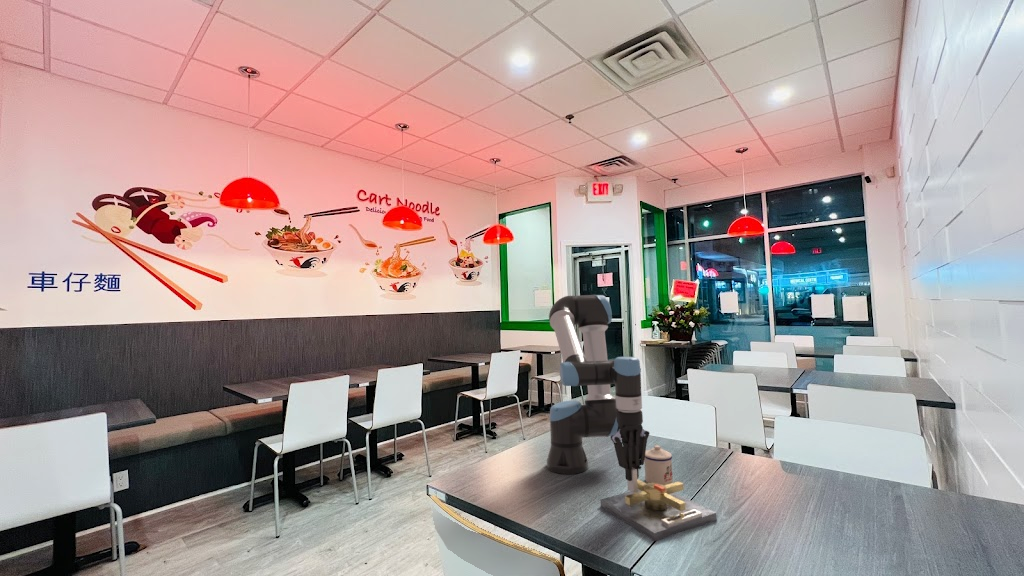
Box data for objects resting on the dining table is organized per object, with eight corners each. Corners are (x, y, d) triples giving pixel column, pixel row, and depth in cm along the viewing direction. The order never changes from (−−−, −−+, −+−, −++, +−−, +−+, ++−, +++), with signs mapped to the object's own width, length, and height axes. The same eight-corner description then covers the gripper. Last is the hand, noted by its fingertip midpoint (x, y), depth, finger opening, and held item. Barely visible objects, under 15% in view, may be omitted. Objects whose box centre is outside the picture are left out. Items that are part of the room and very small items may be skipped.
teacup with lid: (670, 489, 138) (668, 452, 138) (641, 484, 143) (640, 448, 143) (677, 476, 148) (675, 441, 149) (650, 471, 153) (648, 438, 153)
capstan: (605, 499, 127) (604, 479, 127) (656, 485, 136) (655, 466, 136) (654, 529, 109) (653, 506, 109) (710, 511, 118) (709, 489, 118)
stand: (600, 506, 127) (600, 493, 128) (657, 490, 137) (656, 478, 137) (654, 541, 108) (654, 526, 108) (716, 520, 117) (715, 506, 117)
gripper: (619, 415, 122) (623, 500, 121) (654, 409, 128) (658, 490, 127) (603, 410, 129) (606, 490, 128) (637, 404, 135) (641, 481, 133)
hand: (632, 490), depth 127 cm, fingers closed
